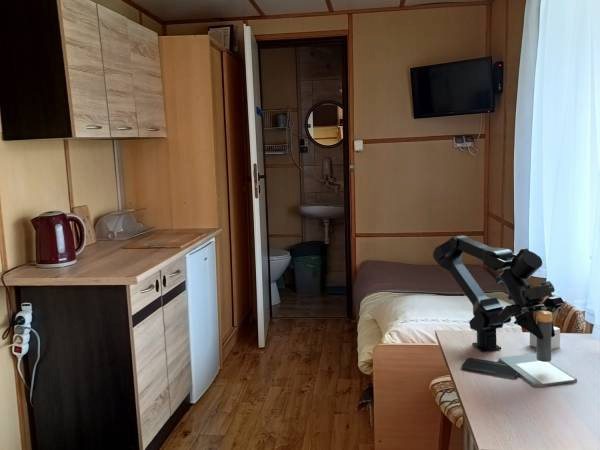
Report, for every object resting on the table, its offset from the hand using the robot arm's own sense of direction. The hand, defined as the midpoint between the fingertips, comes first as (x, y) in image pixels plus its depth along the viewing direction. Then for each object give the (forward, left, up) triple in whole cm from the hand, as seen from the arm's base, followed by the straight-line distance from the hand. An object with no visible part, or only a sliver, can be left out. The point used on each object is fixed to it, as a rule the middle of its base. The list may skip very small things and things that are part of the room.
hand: (548, 337), depth 140 cm
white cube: (-19, +12, -11) cm, 25 cm away
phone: (-8, -12, -11) cm, 18 cm away
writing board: (-4, -1, -11) cm, 12 cm away
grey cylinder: (-1, 0, -7) cm, 7 cm away
